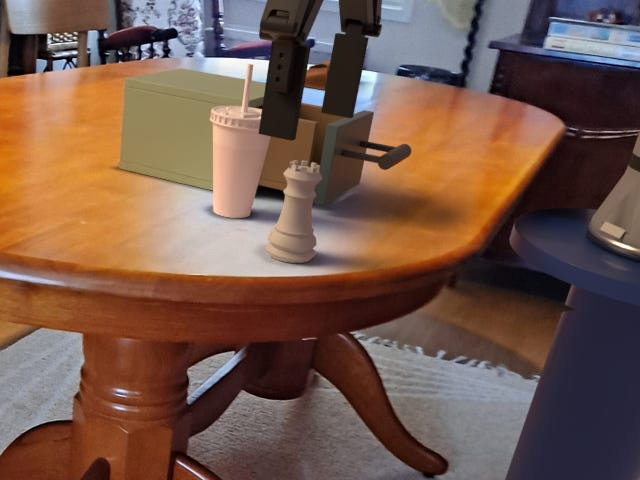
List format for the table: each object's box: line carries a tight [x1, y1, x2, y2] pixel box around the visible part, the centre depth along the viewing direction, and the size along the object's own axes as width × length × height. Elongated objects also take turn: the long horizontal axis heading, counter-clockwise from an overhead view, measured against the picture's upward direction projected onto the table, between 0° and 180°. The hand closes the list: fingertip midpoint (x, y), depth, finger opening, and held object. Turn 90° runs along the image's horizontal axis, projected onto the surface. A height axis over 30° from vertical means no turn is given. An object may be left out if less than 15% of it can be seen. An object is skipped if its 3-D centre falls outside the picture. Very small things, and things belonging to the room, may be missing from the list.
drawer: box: [255, 102, 412, 206], centre depth 89 cm, size 19×12×8 cm, turn 60°
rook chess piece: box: [264, 160, 322, 264], centre depth 71 cm, size 4×4×8 cm
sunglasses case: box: [304, 59, 331, 91], centre depth 167 cm, size 18×7×7 cm
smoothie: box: [210, 63, 271, 219], centre depth 80 cm, size 6×6×14 cm
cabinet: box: [118, 68, 266, 191], centre depth 94 cm, size 15×13×10 cm
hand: (309, 125), depth 68 cm, fingers open, 13 cm apart
